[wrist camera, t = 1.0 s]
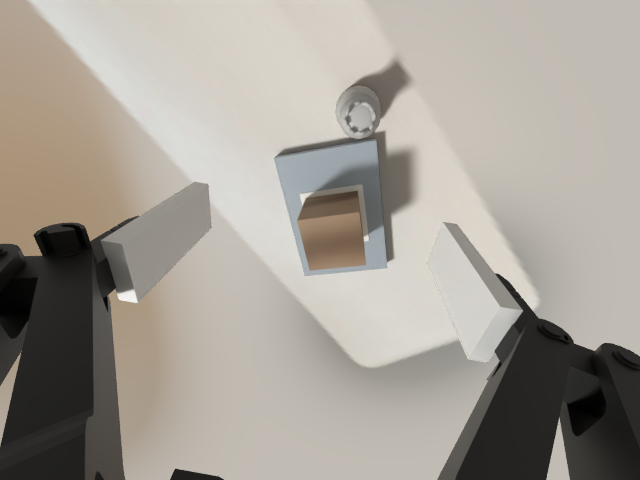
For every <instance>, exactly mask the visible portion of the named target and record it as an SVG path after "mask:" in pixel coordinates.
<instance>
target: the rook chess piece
mask: <svg viewBox="0 0 640 480" xmlns="http://www.w3.org/2000/svg"><path fill="white" fill-rule="evenodd" d="M380 111H381V109H380V102H379V99H378V97H377V95H376V94H375V92H374V91H373V90H371V89H370V88H368V87H366V86H360V85H357V86H353V87H350V88H348V89H347V90H346V91H345V92H343V93H342V94H341V96H340V98H339V100H338V101H337V106H336V116H337V121H338V123H339V124H340V126H341V128H342V129H343V131H344V132H345V134H347V135H348V136H350V137H351V138H356V139H362V138H366V137H368V136H370V135H371V134H372V133H374V132H375V130H376V129H377V127H378V125H379V122H380V118H381V114H380Z"/></svg>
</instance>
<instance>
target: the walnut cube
mask: <svg viewBox="0 0 640 480" xmlns="http://www.w3.org/2000/svg"><path fill="white" fill-rule="evenodd" d="M297 222H298V226H299V230H300V234H301V238H302V242H303V246H304V250H305V254H306V258H307V262H308V266H309V270H310V271H312V270H322V269H332V268H342V267H352V266H363V265H366V259H365V247H364V236H363V229H362V221H361V213H360V205H359V197H358V191H352V192H345V193H338V194H331V195H324V196H318V197H311V198H306V199H305V201H304V204H303V206H302V209H301V212H300V214H299V217H298V219H297Z"/></svg>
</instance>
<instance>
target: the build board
mask: <svg viewBox="0 0 640 480" xmlns="http://www.w3.org/2000/svg"><path fill="white" fill-rule="evenodd" d="M274 160H275V164H276V168H277V171H278V175H279V179H280V183H281V187H282V190H283V194H284V198H285V202H286V206H287V210H288V213H289V217H290V221H291V225H292V229H293V232H294V236H295V240H296V244H297V248H298V251H299V255H300V259H301V263H302V267H303V270H304V274H305V276H310V275H321V274H331V273H341V272H352V271H362V270H373V269H383V268H387V259H386V248H385V236H384V224H383V213H382V201H381V190H380V178H379V166H378V155H377V143H376V139H375V138H374V139H368V140H363V141H357V142H352V143H346V144H340V145H335V146H329V147H323V148H318V149H312V150H307V151H301V152H295V153H290V154H284V155H278V156H276V157H275V158H274ZM352 191H358V197H359V205H360V213H361V221H362V229H363V236H364V247H365V259H366V265H363V266H352V267H342V268H332V269H322V270H312V271H310V270H309V266H308V262H307V258H306V254H305V250H304V246H303V242H302V238H301V234H300V230H299V226H298V222H297V219H298V217H299V214H300V212H301V209H302V206H303V204H304V201H305V199H306V198H311V197H318V196H324V195H331V194H338V193H345V192H352Z"/></svg>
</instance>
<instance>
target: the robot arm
mask: <svg viewBox="0 0 640 480" xmlns="http://www.w3.org/2000/svg"><path fill="white" fill-rule="evenodd" d="M209 229H211V215H210V201H209V188H208V184H205V183H198V182H194V183H192V184H191V185H189V186H188V187H186V188H184V189H183V190H181V191H180V192H178V193H176V194H174V195H173V196H171V197H170V198H168V199H166V200H165V201H163V202H162V203H160V204H159V205H157V206H155V207H154V208H152V209H150V210H149V211H147V212H145V213H144V214H142V215H141V216H136V217H133V218H131V219H127V220H125V221H124V222H122V223H120V224H119V225H118V226H115V227H113V228H112V229H110V231H107V232H105V233H104V234H102V235H100V236H99V237H97V238H95V239H94V240H92V241H90V240H89V237H88V234H87V231H86V228H85V227H84V225H81V224H79V223H60V224H55V225H51V226H48V227H44V228H42V229H40V230H38V231H37V232H36V233H35V234H34V237H35V240H36V242H37V244H38V246H39V249H40V251H41V253H42V255H43V256H24V255H23V254H22V251H21V249H20V248H19V247H18V246H17V245H13V244H0V385H1V383H2V382H3V380H4V379H5V377H6V375H7V374H8V372H9V371H10V369H11V367H12V365H13V364H14V362H15V361H16V359H17V357H18V356H19V354H20V352H21V351H22V352H21V357H20V361H19V366H18V370H17V374H16V379H15V383H14V388H13V392H12V397H11V401H10V406H9V410H8V415H7V419H6V424H5V428H4V433H3V438H2V442H1V446H0V480H125V476H124V470H123V460H122V447H121V434H120V421H119V409H118V396H117V383H116V370H115V358H114V345H113V332H112V319H111V306H110V300H109V297H108V294H110V293H111V292H112V291H113V290H114V289H115V288H116V291H117V294H118V298H119V300H123V301H129V302H135V303H138V302H140V300H141V299H142V298H143V297H144V296H145V295H146V294H147V293H148V292H149V291H150V290H151V289H152V288H153V287H154V286H155V285H156V284H157V283H158V282H159V281H160V280H161V279H162V278H163V277H164V276H165V275H166V274H167V273H168V272H169V271H170V270H171V269H172V268H173V266H175V265H176V263H177V262H178V261H179V260H180V259H181V258H182V257H183V256H184V255H185V254H186V253H187V252H188V251H189V250H190V249H191V248H192V247H193V246H194V245H195V244H196V243H197V242H198V241H199V240H200V239H201V238H202V237H203V236H204V235H205V234H206V233H207V232H208V231H209ZM427 265H428V268H429V270H430V272H431V275H432V277H433V279H434V282H435V284H436V286H437V288H438V291H439V293H440V295H441V298H442V300H443V302H444V305H445V307H446V309H447V312H448V314H449V316H450V319H451V321H452V323H453V326H454V328H455V330H456V333H457V335H458V337H459V340H460V342H461V344H462V347H463V349H464V351H465V354H466V356H467V358H468V359H470V360H476V361H482V362H488V361H489V360H490V358H491V357H492V355H493V354H494V352H495V353H496V355H497V357H498V359H499V360H500V362H499V363H498V364H497V366H496V367H495V369H494V370H493V371H492V373H491V374H490V375H489V377H488V378H487V380H488V383H487V385H486V386H485V388H484V390H483V392H482V394H481V396H480V398H479V400H478V402H477V404H476V406H475V408H474V410H473V412H472V414H471V415H470V417H469V419H468V421H467V423H466V425H465V427H464V429H463V431H462V433H461V435H460V437H459V439H458V441H457V443H456V444H455V447H454V448H453V450H452V452H451V454H450V456H449V458H448V460H447V462H446V464H445V466H444V468H443V470H442V471H441V473H440V475H439V478H438V480H546V478H547V473H548V468H549V463H550V458H551V453H552V449H553V444H554V439H555V435H556V429H557V425H558V420H559V416H560V422H561V428H562V434H563V440H564V446H565V452H566V458H567V464H568V469H569V476H570V480H640V356H638V355H637V354H634V352H632V351H630V350H627V349H625V348H623V347H621V346H617V345H615V344H611V343H604V344H602V345H601V346H600V347H599V348H598V349H597V350H596V351H593V350H590V349H587V348H585V347H581V346H579V345H576V344H574V342H573V340H572V338H571V337H570V336H569V334H568V333H566V332H565V331H564V330H563V329H562V328H560V327H558V326H557V325H555V324H553V323H551V322H549V321H546V320H543V319H539V318H538V317H537V316H536V315H535V313H534V312H533V311H532V310H531V308H530V307H529V306H528V305H527V303H526V302H525V301H524V300H523V298H521V296H520V295H519V293H518V292H516V290H515V289H514V287H513V286H512V285H511V284H510V282H509V281H507V280H506V279H505V278H503V277H502V276H501V275H499V274H495V273H494V272H493V271H492V269H491V268H490V267H489V265H488V264H487V263H486V262H485V260H484V259H483V258H482V256H481V255H480V254H479V252H478V251H477V250H476V249H475V247H474V246H473V245H472V243H471V242H470V241H469V239H468V238H467V237H466V235H465V234H464V233H463V232H462V230H461V229H460V228H459V226H458V225H457V224H452V223H446V222H443V223H442V226H441V228H440V231H439V233H438V236H437V238H436V241H435V243H434V246H433V248H432V251H431V253H430V256H429V258H428V261H427ZM170 480H224V479H222V478H220V477H218V476H212V475H207V474H201V473H195V472H190V471H184V470H179V469H175V470H174V472H173V475H172V477H171V479H170Z"/></svg>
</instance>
